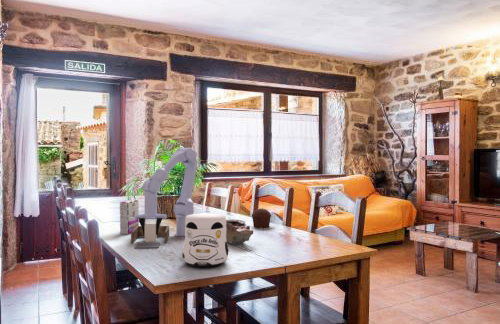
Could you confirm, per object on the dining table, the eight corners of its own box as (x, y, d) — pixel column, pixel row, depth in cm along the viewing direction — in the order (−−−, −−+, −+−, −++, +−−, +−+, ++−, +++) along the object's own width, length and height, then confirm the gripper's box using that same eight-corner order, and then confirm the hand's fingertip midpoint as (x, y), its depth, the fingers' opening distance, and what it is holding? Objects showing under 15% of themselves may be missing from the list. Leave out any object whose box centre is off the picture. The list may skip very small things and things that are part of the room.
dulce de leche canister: (196, 273, 139) (196, 222, 138) (174, 261, 153) (174, 215, 152) (237, 265, 149) (237, 217, 148) (213, 255, 163) (213, 211, 162)
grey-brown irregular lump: (242, 237, 198) (242, 217, 197) (260, 246, 180) (260, 224, 179) (217, 239, 192) (217, 219, 192) (233, 248, 174) (233, 226, 174)
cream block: (156, 239, 191) (156, 222, 191) (155, 241, 186) (155, 224, 186) (145, 239, 191) (145, 222, 191) (144, 241, 186) (144, 224, 186)
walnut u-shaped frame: (169, 235, 199) (169, 225, 199) (166, 243, 183) (166, 232, 183) (136, 236, 197) (136, 226, 197) (131, 243, 181) (131, 232, 181)
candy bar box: (130, 229, 212) (130, 199, 212) (138, 230, 211) (139, 199, 211) (119, 234, 201) (119, 201, 201) (128, 234, 200) (128, 202, 200)
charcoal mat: (160, 243, 182) (160, 242, 182) (158, 248, 173) (158, 247, 173) (137, 243, 181) (137, 242, 181) (134, 248, 172) (134, 247, 172)
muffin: (274, 227, 222) (274, 210, 222) (256, 229, 218) (256, 211, 218) (265, 224, 233) (266, 207, 233) (248, 225, 229) (248, 208, 229)
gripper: (133, 206, 183) (133, 236, 184) (165, 206, 185) (165, 235, 186) (136, 204, 190) (135, 232, 191) (166, 204, 192) (166, 232, 193)
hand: (150, 234), depth 189 cm, fingers open, 5 cm apart
